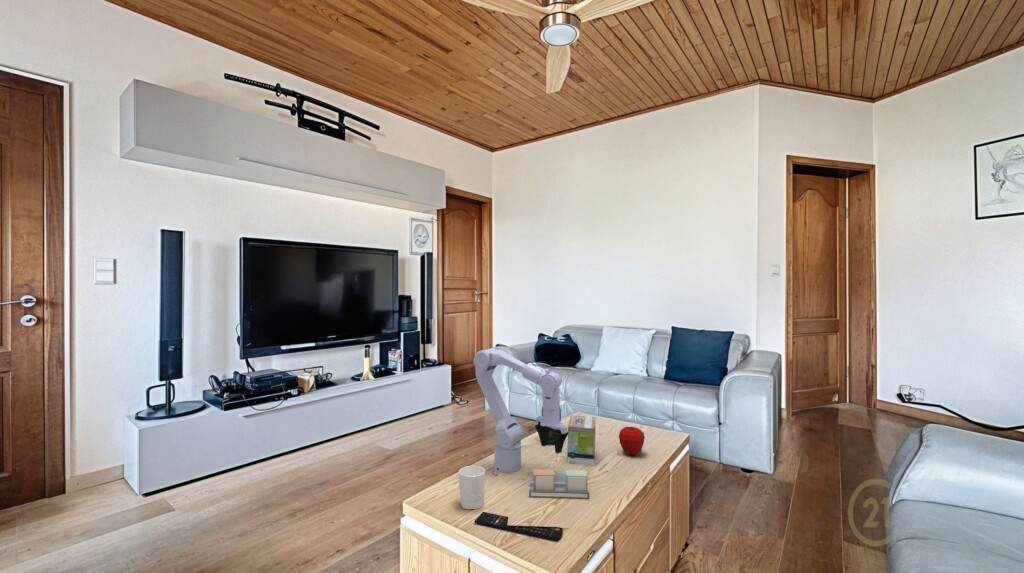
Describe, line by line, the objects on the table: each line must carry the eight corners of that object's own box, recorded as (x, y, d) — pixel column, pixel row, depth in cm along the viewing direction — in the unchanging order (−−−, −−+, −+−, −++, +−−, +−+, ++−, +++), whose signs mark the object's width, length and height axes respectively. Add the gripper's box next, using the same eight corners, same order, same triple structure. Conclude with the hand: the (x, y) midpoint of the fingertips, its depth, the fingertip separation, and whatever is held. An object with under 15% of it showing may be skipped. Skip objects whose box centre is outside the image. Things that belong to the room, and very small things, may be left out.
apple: (647, 459, 164) (647, 430, 164) (622, 458, 165) (622, 430, 165) (640, 449, 174) (640, 422, 174) (616, 449, 174) (616, 422, 174)
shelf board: (529, 501, 132) (529, 491, 132) (530, 475, 150) (530, 467, 150) (589, 503, 131) (589, 493, 131) (583, 476, 149) (583, 468, 149)
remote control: (482, 516, 124) (482, 511, 124) (564, 533, 115) (564, 528, 115) (474, 525, 119) (474, 520, 119) (559, 544, 110) (559, 539, 110)
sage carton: (566, 495, 133) (566, 475, 133) (565, 489, 137) (565, 470, 137) (587, 495, 133) (587, 476, 133) (586, 489, 137) (586, 470, 137)
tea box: (595, 469, 155) (595, 427, 155) (566, 466, 157) (566, 426, 157) (595, 453, 170) (595, 415, 170) (569, 451, 172) (569, 414, 172)
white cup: (474, 513, 125) (474, 478, 125) (453, 506, 129) (453, 472, 129) (490, 502, 131) (490, 469, 131) (469, 495, 135) (469, 463, 136)
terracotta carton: (534, 494, 134) (534, 474, 134) (533, 488, 138) (533, 469, 138) (555, 494, 134) (555, 474, 134) (553, 488, 138) (553, 469, 138)
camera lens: (537, 443, 181) (537, 407, 181) (547, 437, 188) (547, 403, 188) (554, 447, 177) (554, 410, 177) (564, 441, 183) (564, 405, 183)
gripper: (528, 405, 150) (529, 445, 150) (555, 415, 138) (555, 458, 138) (545, 402, 154) (545, 441, 154) (572, 412, 142) (572, 453, 142)
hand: (551, 449), depth 146 cm, fingers open, 7 cm apart
